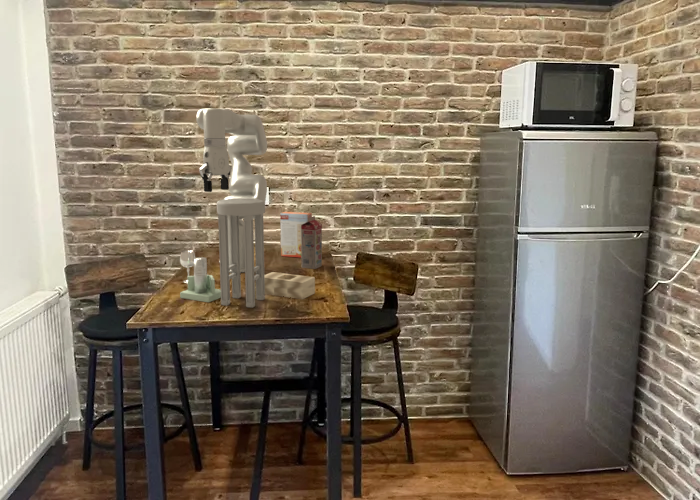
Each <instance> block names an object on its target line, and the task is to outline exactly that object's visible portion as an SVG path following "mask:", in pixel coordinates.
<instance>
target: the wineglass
mask: <svg viewBox="0 0 700 500" xmlns="http://www.w3.org/2000/svg"><path fill="white" fill-rule="evenodd" d="M194 258H196V254H195V251H194V250H190V249H186V250H181V251H180V257H179V263H180V265H181V266H182V267H184V268H186V272H187V276H190V270H191V269H190V268H192V267H194ZM182 283H185V284H188V279H187V278H186V279H185V280H183V281H182Z"/></svg>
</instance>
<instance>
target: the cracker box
mask: <svg viewBox="0 0 700 500" xmlns="http://www.w3.org/2000/svg"><path fill="white" fill-rule="evenodd" d="M312 213H313V212H303V211H302V212H299V211H283V212H280V256H281V257H288V258H301V225H302V224H304V223H306V222H308V218H309V217H313V214H312Z"/></svg>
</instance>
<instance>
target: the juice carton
mask: <svg viewBox="0 0 700 500" xmlns="http://www.w3.org/2000/svg"><path fill="white" fill-rule="evenodd" d="M322 229H323V224H322V223H321V222H319V220H316V216H315V215H312V217H309V218H308V222H306V223H304V224H302V225H301V269H302V268H303V269H313V270H316V269H319V268H320V267H322V266H323V265H322V264H323V263H322V262H323V253H322V252H323V251H322V250H323V230H322Z"/></svg>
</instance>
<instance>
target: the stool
mask: <svg viewBox="0 0 700 500" xmlns="http://www.w3.org/2000/svg"><path fill="white" fill-rule="evenodd" d="M223 199H224V198H223ZM223 199H220V200H218V201H216V213H217V221H218V222H217V223H218V224H217V225H218V252H219V261H220V263H219V275H220V276H219V277H220V278H219V279H220V280H219V281H220V283H219V285H220V290H221V298H220V305H221V306H226V307H228V306H229V305H231V297H232V299H240V298H241V297H242V289H241V288H242V284H241V283H242V279H241V278H242V277H241V273H240V242H239V216H244V219H243V222H244V244H245V272H244V276H245V278H244V279H245V307H246V308H254V307H255V306H256V300H257V301H264V300H265V299H266V294H265V277H264V275H265V233H264V232H265V230H264V214H265V213H266V201H265V202H264V201H263V200H259V199H245V198H243V199H224V200H223ZM227 215H229V216H230V234H231V265H230V266H229V249H228V217H227ZM253 215H255V219H253ZM254 243H255V244H254ZM230 270H232V273H229V271H230ZM230 281H231V284H230ZM230 289H231V290H230ZM231 293H232V294H231ZM255 293H256V294H255ZM231 295H232V296H231Z"/></svg>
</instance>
